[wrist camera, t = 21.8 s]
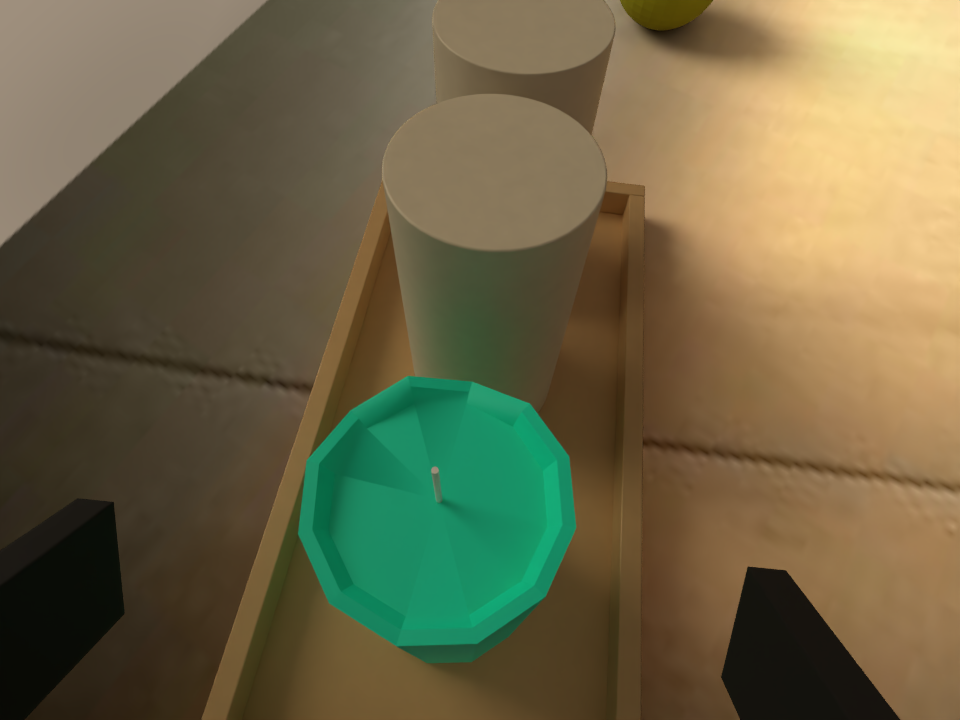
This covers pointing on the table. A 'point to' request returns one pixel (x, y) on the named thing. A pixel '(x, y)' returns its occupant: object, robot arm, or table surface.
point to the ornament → (664, 12)
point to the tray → (582, 572)
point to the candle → (438, 516)
